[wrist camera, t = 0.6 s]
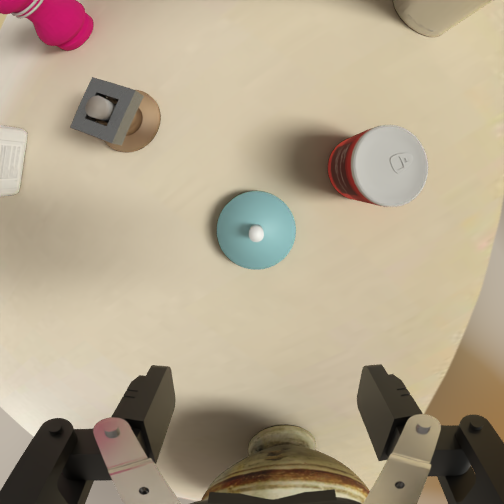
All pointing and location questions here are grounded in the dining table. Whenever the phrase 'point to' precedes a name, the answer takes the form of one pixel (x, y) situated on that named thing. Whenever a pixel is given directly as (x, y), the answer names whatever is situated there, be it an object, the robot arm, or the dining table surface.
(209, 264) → the dining table surface
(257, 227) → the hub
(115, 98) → the square metal frame
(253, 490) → the amphora
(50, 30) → the pepper mill
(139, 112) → the stand
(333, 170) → the canned food
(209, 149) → the dining table surface
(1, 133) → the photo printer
